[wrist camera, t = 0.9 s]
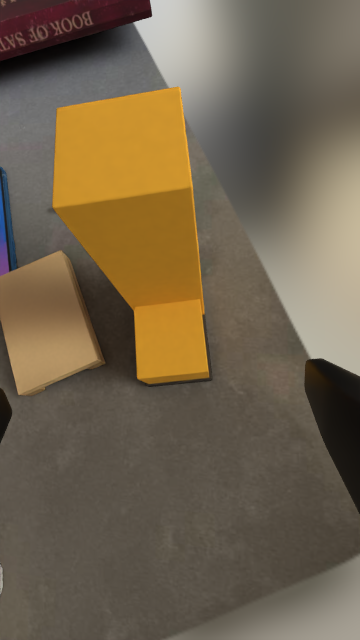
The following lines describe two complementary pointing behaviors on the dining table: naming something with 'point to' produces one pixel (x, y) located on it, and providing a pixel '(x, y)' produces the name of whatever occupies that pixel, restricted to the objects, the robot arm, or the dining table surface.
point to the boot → (138, 222)
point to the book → (61, 21)
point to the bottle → (1, 578)
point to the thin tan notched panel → (46, 324)
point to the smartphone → (6, 229)
